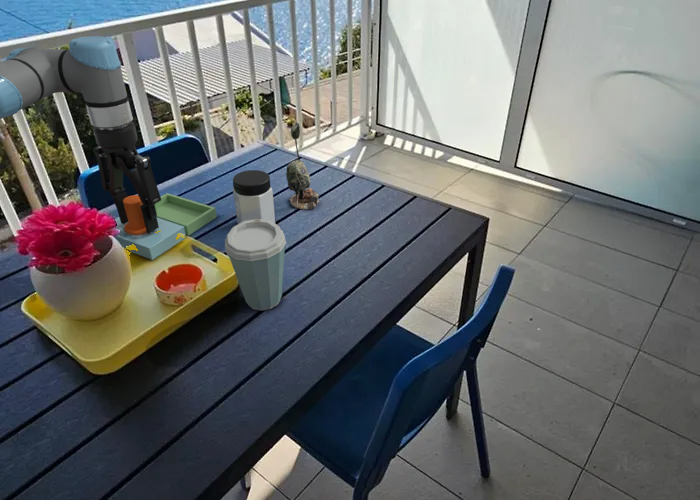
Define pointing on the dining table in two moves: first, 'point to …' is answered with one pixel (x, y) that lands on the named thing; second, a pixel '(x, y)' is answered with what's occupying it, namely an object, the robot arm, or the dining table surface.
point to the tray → (184, 212)
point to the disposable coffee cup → (258, 261)
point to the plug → (134, 216)
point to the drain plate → (151, 238)
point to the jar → (253, 196)
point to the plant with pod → (300, 179)
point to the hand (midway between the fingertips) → (139, 225)
